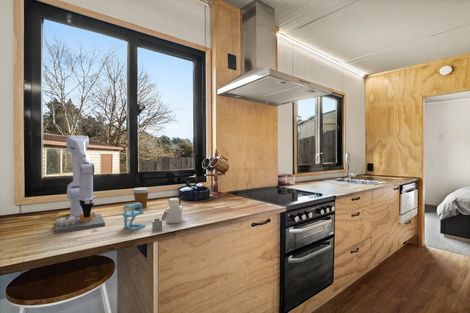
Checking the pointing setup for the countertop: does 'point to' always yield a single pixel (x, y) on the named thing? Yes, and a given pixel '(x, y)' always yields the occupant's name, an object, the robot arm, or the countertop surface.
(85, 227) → the gear board
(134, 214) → the chair
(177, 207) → the medicine bottle
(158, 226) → the lighter
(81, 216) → the orange gear
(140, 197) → the disposable coffee cup
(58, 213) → the countertop surface
